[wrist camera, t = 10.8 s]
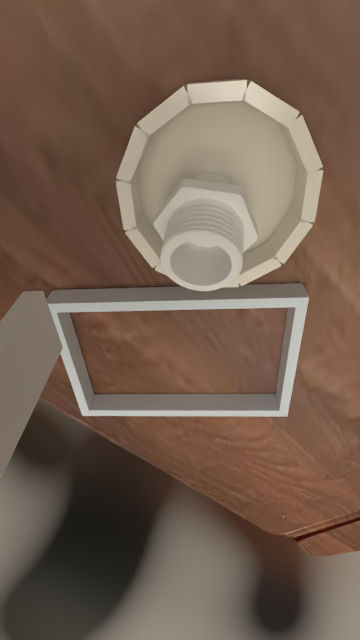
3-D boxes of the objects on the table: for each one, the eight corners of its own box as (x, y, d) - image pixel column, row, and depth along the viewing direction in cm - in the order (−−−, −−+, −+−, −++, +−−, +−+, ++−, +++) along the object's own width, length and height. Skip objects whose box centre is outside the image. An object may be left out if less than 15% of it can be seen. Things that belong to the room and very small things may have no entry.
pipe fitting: (152, 199, 28) (130, 271, 23) (206, 125, 23) (192, 198, 18) (214, 239, 30) (206, 311, 26) (276, 181, 25) (279, 257, 20)
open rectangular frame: (52, 290, 34) (43, 303, 32) (302, 283, 32) (308, 297, 30) (88, 399, 43) (82, 415, 41) (283, 399, 41) (287, 416, 39)
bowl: (113, 88, 24) (100, 90, 21) (321, 72, 23) (339, 72, 20) (140, 268, 32) (133, 289, 29) (294, 263, 31) (304, 285, 28)
